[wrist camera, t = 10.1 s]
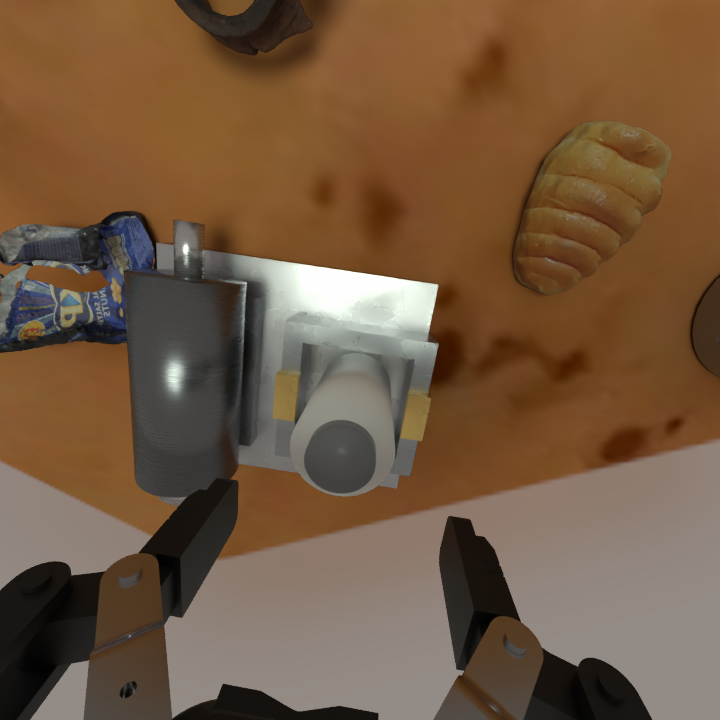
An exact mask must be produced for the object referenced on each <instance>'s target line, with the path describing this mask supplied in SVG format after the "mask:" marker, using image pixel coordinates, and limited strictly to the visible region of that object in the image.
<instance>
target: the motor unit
mask: <svg viewBox="0 0 720 720" xmlns="http://www.w3.org/2000/svg"><path fill="white" fill-rule="evenodd" d="M173 244H174V245H173ZM173 244H166V243H156V247H157V269H148V268H136V269H126V270H124V271H123V275H124V293H125V311H126V328H127V346H128V364H129V382H130V400H131V417H132V435H133V453H134V471H135V480H136V483H137V485H138V486H139V487H140V488H141V489H142V490H144V491H145V492H147V493H150V494H152V495H156V496H158V497H159V498H160V499H161V500H162V501H163V502H165V503H168V504H171V505H180V504H181V503H182V502H183V501H184V499H185V498H186V497H188V496H189V495H191V494H193V493H194V492H196V491H197V490H199V489H202V490H207V489H208V488H209V486H210V485H211V484H212V483H213V481H214V480H215V479H216V478H224V479H230V478H231V477H232V476H233V475H234V474H235V472H236V471H237V468H238V463H239V464H245V465H251V466H258V467H264V468H270V469H277V470H283V471H289V472H296V473H298V472H297V470H296V468H295V466H294V464H293V461H292V458H291V454H290V440H291V435H292V432H293V430H294V428H295V426H296V424H297V422H298V420H299V418H300V416H301V415H302V413H303V411H304V409H305V407H306V405H307V404H308V402H309V400H310V398H311V396H312V394H313V392H314V391H315V389H316V387H317V385H318V383H319V381H320V379H321V378H322V376H323V374H324V372H325V370H326V368H327V367H328V366H329V364H330V363H331V362H332V361H334V360H335V359H336V358H338V357H340V356H342V355H345V354H350V353H361V354H365V355H368V356H371V357H373V358H374V359H376V360H377V361H378V362H380V363H381V364H382V366H383V367H384V368H385V370H386V371H387V373H388V376H389V379H390V387H391V400H392V413H393V427H394V440H395V459H394V463H393V466H392V468H391V471H390V472H389V474H388V476H387V477H386V478H385V479H384V481H383V482H381V483H380V484H379V485H378V486H384V487H391V488H397V485H398V480H399V475H404V476H410V475H411V470H412V465H413V461H414V456H415V451H416V447H417V442H418V441H422V439H423V435H424V430H425V426H426V421H427V416H428V412H429V407H430V403H431V395H430V393H428V391H429V386H430V382H431V377H432V372H433V368H434V363H435V359H436V354H437V349H438V345H439V344H438V342H437V341H436V340H435V338H434V337H433V335H432V334H430V333H429V329H430V324H431V319H432V314H433V309H434V304H435V299H436V294H437V289H438V284H434V283H427V282H421V281H414V280H407V279H400V278H394V277H387V276H380V275H374V274H367V273H360V272H354V271H347V270H340V269H333V268H327V267H320V266H313V265H307V264H300V263H293V262H287V261H280V260H273V259H266V258H260V257H253V256H246V255H240V254H233V253H226V252H220V251H213V250H206V249H205V225H204V224H199V223H193V222H187V221H180V220H173Z"/></svg>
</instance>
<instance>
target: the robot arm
mask: <svg viewBox="0 0 720 720" xmlns="http://www.w3.org/2000/svg"><path fill="white" fill-rule="evenodd" d="M692 336H693V343H694V349H695V351H696V353H697V355H698V358H699V360H700V361H701V362H702V363H703V365H704V366H705V367H706V368H707V369H708V370H709V371H711V372H712V373H714V374H715V375H717V376H718V377H720V277H719V278H718V279H717V280H716V281H715V282H714V284H713V285H712V286H711V287H710V289H709V290H708V291H707V292H706V294H705V296H704V298H703V299H702V301H701V303H700V305H699V307H698V310H697V313H696V316H695V319H694V323H693V334H692ZM237 515H238V481H237V480H230V479H224V478H216V479H215V480H214V481H213V483H212V484H211V485H210V486H209V488H208V489H207V490H202V489H199V490H197V491H196V492H194V493H193V494H191V495H189V496H188V497H186V498H185V499H184V501H183V502H182V503H181V504H180V505H179V506H178V508H177V510H175V511H174V512H173V513H172V515H171V516H170V517H169V519H167V520H166V522H165V523H164V524H163V525H162V526H161V527H160V528H159V530H158V531H157V532H156V533H155V534H154V535H153V537H152V538H151V539H150V540H149V541H148V542H147V544H146V545H145V546H144V547H143V548H142V549H141V551H140V552H139V553H138V554H133V555H129V556H126V557H124V558H122V559H120V560H118V561H117V562H115V563H114V564H113V565H111V566H110V567H109V568H108V569H107V570H106V571H104V572H98V573H89V574H81V575H73V576H71V569H70V567H69V566H68V565H67V564H66V563H63V562H56V561H55V562H47V563H43V564H39V565H37V566H34V567H32V568H30V569H27V570H26V571H24V572H22V573H21V574H19V575H18V576H16V577H15V578H14V579H13V580H11V581H10V582H9V583H8V584H7V585H6V586H5V587H3V588H2V589H1V590H0V720H30V719H31V718H32V716H33V715H34V714H35V712H36V711H37V710H38V708H39V707H40V705H41V704H42V703H43V701H44V700H45V699H46V697H47V696H48V694H49V693H50V691H51V690H52V689H53V688H54V686H55V685H56V683H57V682H58V681H59V680H60V678H61V677H62V675H63V674H64V673H65V671H66V670H67V668H68V667H69V666H70V665H71V663H76V662H81V661H87V660H89V668H88V678H87V689H86V700H85V710H84V720H378V713H374V712H369V711H363V710H358V709H353V708H347V707H342V706H336V707H329V708H322V709H315V710H308V711H302V712H301V711H300V712H298V711H295V710H293V709H291V708H289V707H287V706H286V705H284V704H282V703H280V702H279V701H277V700H275V699H274V698H272V697H270V696H268V695H267V694H265V693H263V692H261V691H258V690H253V689H248V688H242V687H237V686H232V685H227V684H223V685H222V688H221V690H220V693H219V695H218V698H217V699H215V700H210V701H207V702H203V703H200V704H198V705H195V706H193V707H191V708H189V709H187V710H185V711H183V712H182V713H180V714H178V715H177V716H175V717H174V718H173V719H172V712H171V700H170V689H169V677H168V665H167V653H166V641H165V630H164V624H165V623H166V621H167V620H168V618H169V616H175V617H180V618H182V617H183V615H184V613H185V612H186V610H187V609H188V607H189V605H190V604H191V602H192V600H193V598H194V597H195V595H196V593H197V591H198V590H199V588H200V586H201V585H202V583H203V581H204V579H205V578H206V576H207V574H208V573H209V571H210V569H211V567H212V566H213V564H214V562H215V561H216V559H217V557H218V555H219V554H220V552H221V550H222V549H223V547H224V545H225V543H226V542H227V540H228V538H229V536H230V535H231V533H232V531H233V529H234V527H235V524H236V520H237ZM439 566H440V573H441V578H442V585H443V591H444V597H445V602H446V608H447V615H448V621H449V627H450V633H451V639H452V645H453V651H454V657H455V663H456V669H457V670H463V671H464V673H463V674H462V676H460V675H459V676H458V677H457V679H456V680H455V682H454V684H453V685H452V687H451V689H450V691H449V693H448V694H447V696H446V698H445V700H444V702H443V703H442V706H441V707H440V709H439V711H438V712H437V714H436V716H435V718H434V720H652V719H651V716H650V715H649V713H648V711H647V709H646V707H645V705H644V704H643V701H642V700H641V698H640V696H639V694H638V692H637V691H636V689H635V688H634V687H633V685H632V684H631V683H630V682H629V681H628V679H627V678H626V677H624V675H623V674H621V673H620V672H619V671H618V670H617V669H615V668H614V667H613V666H611V665H609V664H608V663H606V662H604V661H602V660H599V659H596V658H586V659H583V660H582V661H581V662H580V664H579V666H578V667H577V666H575V665H573V664H571V663H569V662H567V661H565V660H563V659H561V658H559V657H557V656H555V655H553V654H551V653H549V652H547V651H546V650H545V649H543V648H542V647H541V645H540V643H539V641H538V639H537V638H536V636H535V635H534V634H533V633H532V632H531V631H530V629H529V628H528V627H526V626H525V625H524V624H523V623H521V621H520V618H519V616H518V613H517V610H516V607H515V605H514V602H513V599H512V596H511V594H510V591H509V588H508V585H507V583H506V580H505V577H503V572H502V569H501V566H499V561H498V558H497V555H496V553H495V550H494V548H493V547H492V546H491V545H490V544H489V542H488V541H487V540H486V538H485V537H481V536H476V535H475V532H474V529H473V526H472V523H471V520H469V519H465V518H459V517H453V516H449V517H448V519H447V523H446V527H445V531H444V535H443V540H442V543H441V547H440V555H439Z"/></svg>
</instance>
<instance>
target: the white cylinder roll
mask: <svg viewBox="0 0 720 720" xmlns="http://www.w3.org/2000/svg"><path fill="white" fill-rule="evenodd" d="M290 454H291V458H292V461H293V464H294V466H295V468H296V470H297V472H298V473H299V474H300V476H301V477H302V478H303V479H304V480H305V481H306V482H307V483H309V484H310V485H311V486H313V487H314V488H316V489H318V490H320V491H322V492H324V493H327V494H331V495H335V496H355V495H359V494H363V493H366V492H368V491H370V490H372V489H374V488H375V487H377V486H378V485H379V484H380V483H381V482H383V481H384V479H385V478H386V477H387V476H388V474H389V472H390V471H391V468H392V466H393V463H394V459H395V440H394V427H393V413H392V400H391V387H390V379H389V376H388V373H387V371H386V370H385V368H384V367H383V366H382V364H381V363H380V362H378V361H377V360H376V359H374V358H373V357H371V356H368V355H365V354H361V353H350V354H345V355H342V356H340V357H338V358H336V359H335V360H334V361H332V362H331V363H330V364H329V366H328V367H327V368H326V370H325V372H324V374H323V376H322V378H321V379H320V381H319V383H318V385H317V387H316V389H315V391H314V392H313V394H312V396H311V398H310V400H309V402H308V404H307V405H306V407H305V409H304V411H303V413H302V415H301V416H300V418H299V420H298V422H297V424H296V426H295V428H294V430H293V432H292V435H291V440H290Z"/></svg>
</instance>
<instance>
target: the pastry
mask: <svg viewBox="0 0 720 720" xmlns="http://www.w3.org/2000/svg"><path fill="white" fill-rule="evenodd" d="M671 158H672V154H671V150H670V148H669V147H668V146H667V145H666V144H664V143H663V142H662V141H661V140H660V139H658V138H657V137H656V136H654V135H652V134H651V133H649V132H648V131H646V130H645V129H643V128H638V127H630V126H626V125H625V124H623V123H619V122H611V121H597V122H586V123H582V124H579V125H578V126H576V127H575V128H573V129H572V131H571V132H570V133H569V134H568V135H567V136H566V137H565V138H564V139H563V140H562V141H561V142H560V144H559V145H558V146H556V147H555V148H554V149H553V150H552V151H551V152H550V153H549V154H548V156H547V157H546V159H545V160H544V162H543V165H542V167H541V169H540V171H539V173H538V175H537V176H536V178H535V181H534V184H533V188H532V191H531V193H530V195H529V198H528V201H527V204H526V206H525V209H524V213H523V216H522V220H521V224H520V228H519V231H518V235H517V239H516V242H515V246H514V250H513V261H514V272H515V275H516V277H517V279H518V281H519V282H520V283H522V284H524V285H525V286H527V287H529V288H531V289H534V290H537V291H539V292H541V293H543V294H547V295H551V294H555V293H558V292H561V291H566V290H568V289H570V288H571V287H572V286H574V285H575V284H576V283H577V282H578V281H580V280H581V279H583V278H585V277H587V276H590V275H591V274H593V273H595V271H596V269H597V267H598V266H599V265H600V264H601V263H602V262H604V261H606V260H608V259H609V258H610V257H612V256H613V255H615V254H616V252H617V250H618V248H619V247H620V246H621V245H622V244H624V243H626V242H627V241H629V240H630V239H631V237H632V236H633V234H634V233H635V231H636V230H637V229H638V228H639V226H640V224H641V221H642V218H641V216H642V215H644V214H646V213H648V212H650V211H652V210H653V209H655V207H656V206H657V205H658V202H659V201H660V199H661V196H662V187H661V182H662V180H663V179H664V178H665V176H666V173H667V170H668V165H669V162H670V160H671Z"/></svg>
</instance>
